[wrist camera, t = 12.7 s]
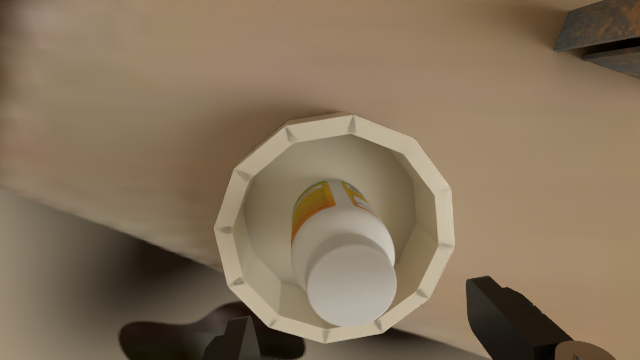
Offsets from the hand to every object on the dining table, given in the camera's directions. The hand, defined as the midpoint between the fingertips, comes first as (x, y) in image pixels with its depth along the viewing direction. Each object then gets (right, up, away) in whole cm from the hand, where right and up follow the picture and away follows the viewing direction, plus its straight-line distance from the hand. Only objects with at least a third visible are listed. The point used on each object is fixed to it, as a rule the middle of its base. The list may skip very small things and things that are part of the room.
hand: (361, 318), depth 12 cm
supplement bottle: (-1, +3, +12) cm, 12 cm away
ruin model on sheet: (+20, +14, +12) cm, 27 cm away
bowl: (-1, +3, +13) cm, 13 cm away
